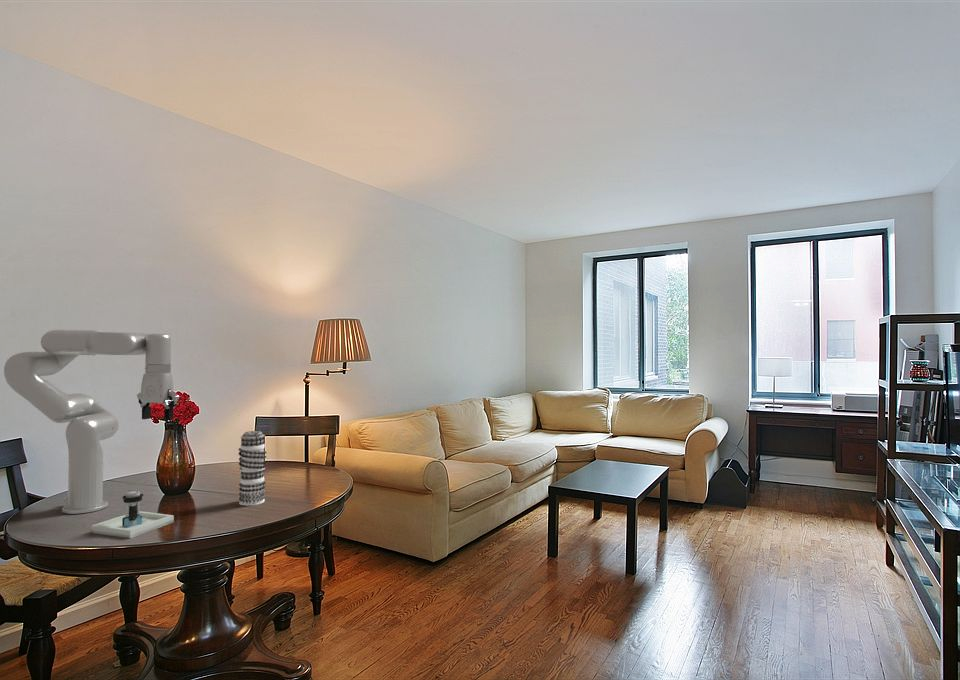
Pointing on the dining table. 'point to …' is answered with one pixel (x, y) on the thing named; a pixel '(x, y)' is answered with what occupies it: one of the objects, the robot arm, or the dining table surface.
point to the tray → (116, 528)
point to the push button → (132, 509)
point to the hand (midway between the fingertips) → (157, 419)
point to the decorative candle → (252, 468)
